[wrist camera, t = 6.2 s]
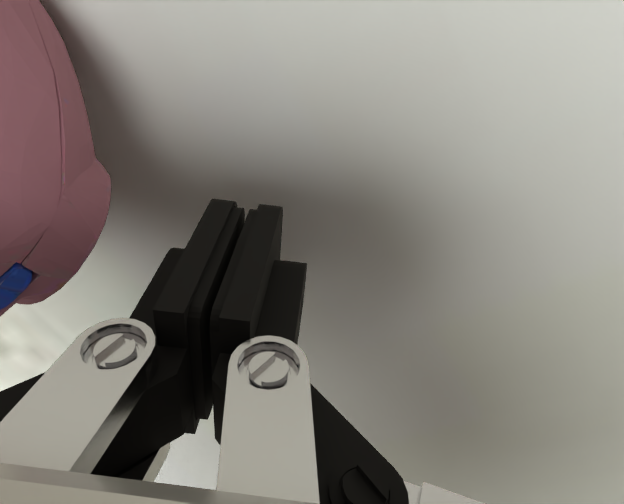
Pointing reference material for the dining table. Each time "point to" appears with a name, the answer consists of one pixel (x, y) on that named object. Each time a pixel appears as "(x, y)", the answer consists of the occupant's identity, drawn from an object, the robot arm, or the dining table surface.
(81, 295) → the dining table surface
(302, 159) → the dining table surface
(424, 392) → the dining table surface
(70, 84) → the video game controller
